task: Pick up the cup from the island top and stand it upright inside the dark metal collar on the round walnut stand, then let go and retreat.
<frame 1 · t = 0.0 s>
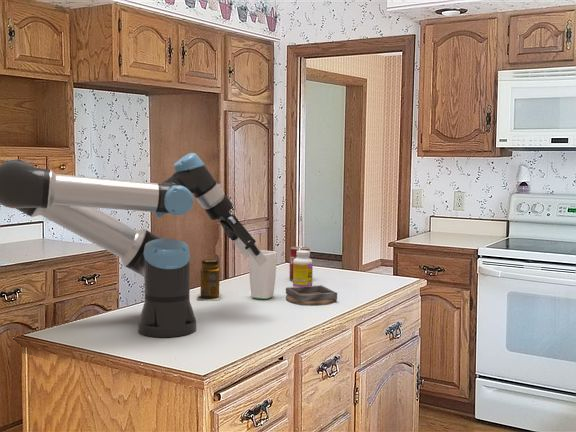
hand: (256, 259, 201), 15 cm above the counter, tool tilted 35°, fingers open, 13 cm apart
collar stand: (311, 299, 217), on the counter
cup: (262, 298, 218), on the counter
supplement bottle: (302, 288, 234), on the counter
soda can: (299, 280, 247), on the counter
condiment: (209, 298, 218), on the counter
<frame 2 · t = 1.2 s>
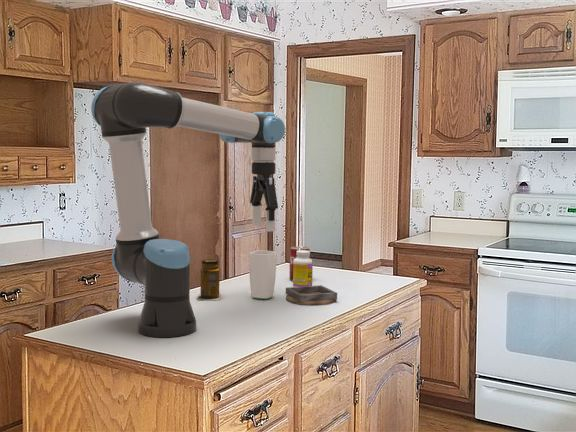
hand: (263, 228, 216), 22 cm above the counter, tool pointing down, fingers open, 13 cm apart
nothing on the counter moved.
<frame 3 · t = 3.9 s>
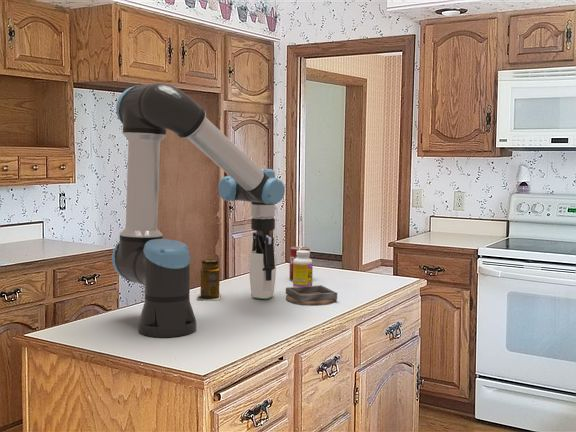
hand: (262, 287, 218), 3 cm above the counter, tool pointing down, fingers closed on cup, 9 cm apart
cup: (262, 298, 218), on the counter, touching gripper
everything else where it was.
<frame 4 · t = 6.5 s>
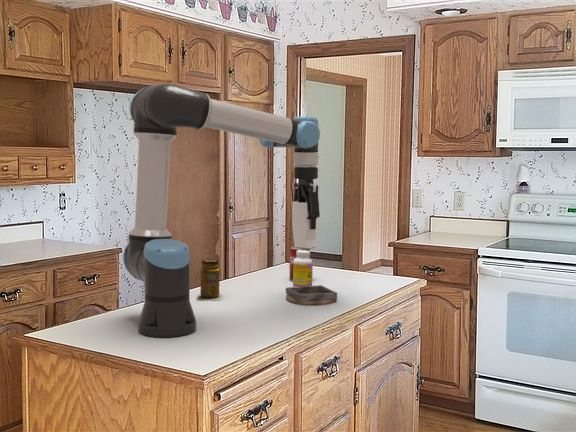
hand: (305, 237, 215), 20 cm above the counter, tool pointing down, fingers closed on cup, 9 cm apart
cup: (305, 249, 216), point 16 cm above the counter, touching gripper
everything else where it was.
when the fingers open (6 cm above the counter, at t = 9.6 s): cup drops 1 cm, resting on collar stand.
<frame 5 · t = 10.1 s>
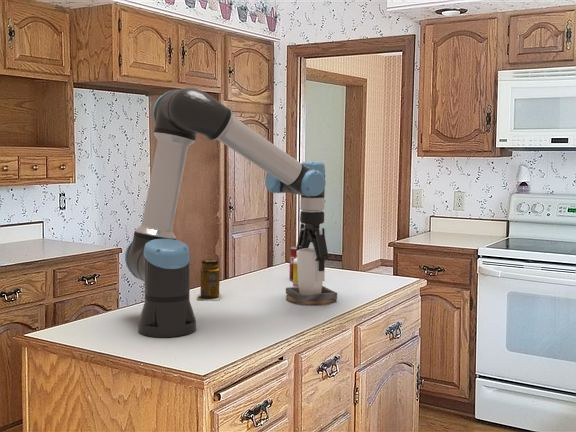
hand: (311, 277, 216), 7 cm above the counter, tool pointing down, fingers open, 13 cm apart
cup: (310, 296, 217), point 1 cm above the counter, touching collar stand
everything else where it was.
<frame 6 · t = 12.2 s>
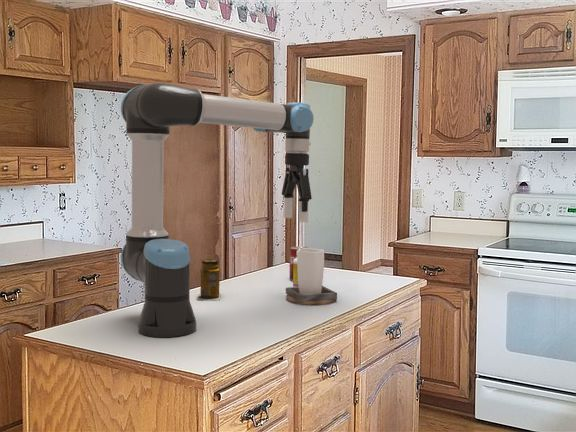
hand: (295, 220, 215), 25 cm above the counter, tool pointing down, fingers open, 13 cm apart
nothing on the counter moved.
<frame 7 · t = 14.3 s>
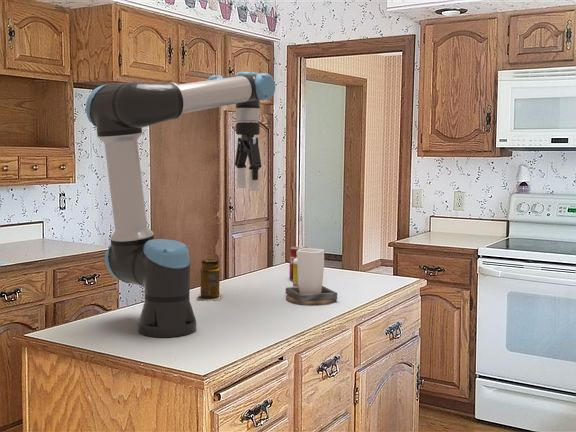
hand: (247, 189, 217), 35 cm above the counter, tool pointing down, fingers open, 13 cm apart
nothing on the counter moved.
at the end: cup 0.6 cm off-centre on the collar stand, point 0.8 cm above the collar stand's base; cup tilted 0°; the gripper is holding nothing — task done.
